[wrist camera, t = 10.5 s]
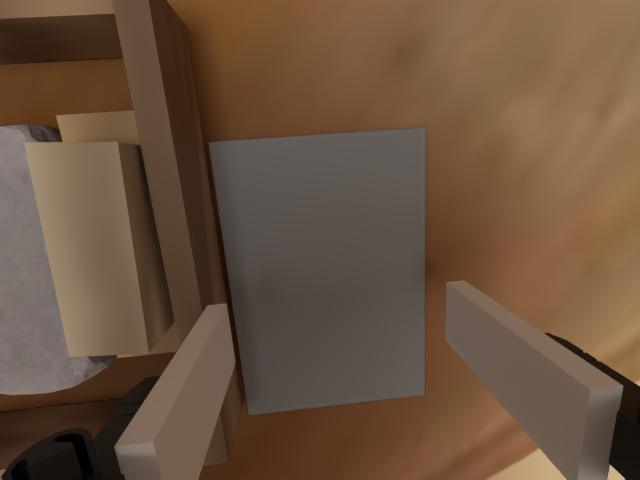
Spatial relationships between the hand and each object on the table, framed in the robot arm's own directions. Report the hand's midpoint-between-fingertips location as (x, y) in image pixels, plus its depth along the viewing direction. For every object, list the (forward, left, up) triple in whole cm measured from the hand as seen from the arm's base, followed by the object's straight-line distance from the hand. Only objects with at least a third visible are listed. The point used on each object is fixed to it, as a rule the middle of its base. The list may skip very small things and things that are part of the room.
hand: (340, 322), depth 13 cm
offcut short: (-9, +4, -2) cm, 10 cm away
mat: (0, 0, -5) cm, 5 cm away
